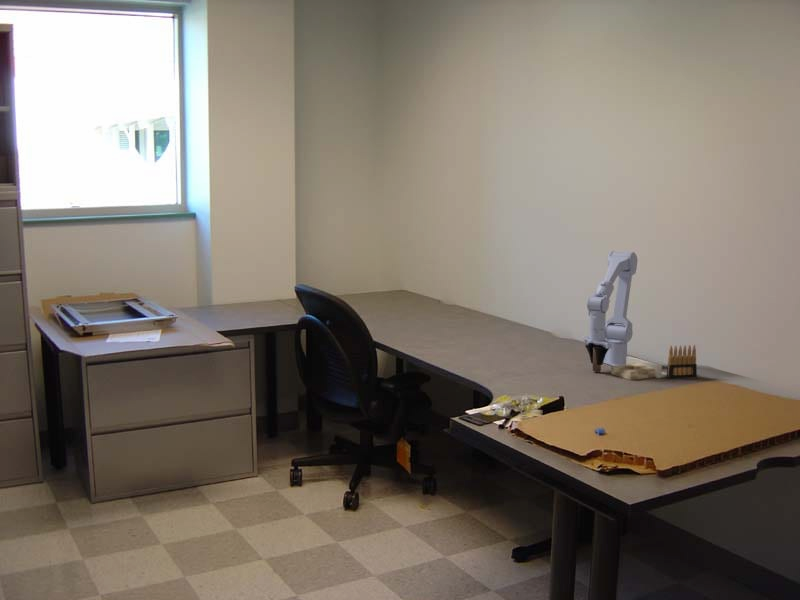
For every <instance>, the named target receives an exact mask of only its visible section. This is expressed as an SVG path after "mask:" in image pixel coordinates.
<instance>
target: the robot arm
mask: <svg viewBox="0 0 800 600" xmlns="http://www.w3.org/2000/svg"><path fill="white" fill-rule="evenodd" d="M607 256H608V257H607V265H608V269H607V271H606V273H605V276H604V279H603V280H601V281H600V282H599V283H598V285H597V287H596V290H595V291H594V293H593V296H591V297H589V298H588V299H587V303H586V306H587V311H588V316H589V336H583V337H582V339H583V341H582V342H583V343H587V344H585V348H586V350H587V353H588V354H589V359H590V362H591V364H593V347H594V349H595V353H596V362H597V365H601V366H603V364H606V365H609V366H616V365H624V364H626V357H628V343H629V342H630V341H631V340H632V338H633V333H634V332H633V323H632V322H631V321H630V319H628V317H627V315H628V314H627V313H628V307H629V301H630V293H631V286H632V281H633V280H632V279H633V278H632V277H633V276H634V275H636V272H637V268H638V260H639V259H638V256H637V254H636V252H634V251H631V252H630V251H615V250H612V251H610V252H609V253H608V255H607ZM617 278H618V279H617ZM616 280H617V285H616V286H617V287H616V292H615V293H616V294H615V300H614V308H613V315H612V316H611V317H609V318H608V319H607V315H606V314H607V312H608V310H609V307H610V302H611V300H610V298H611V296H612V294H613V291H614V289H615V286H614V283H615V281H616Z"/></svg>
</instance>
